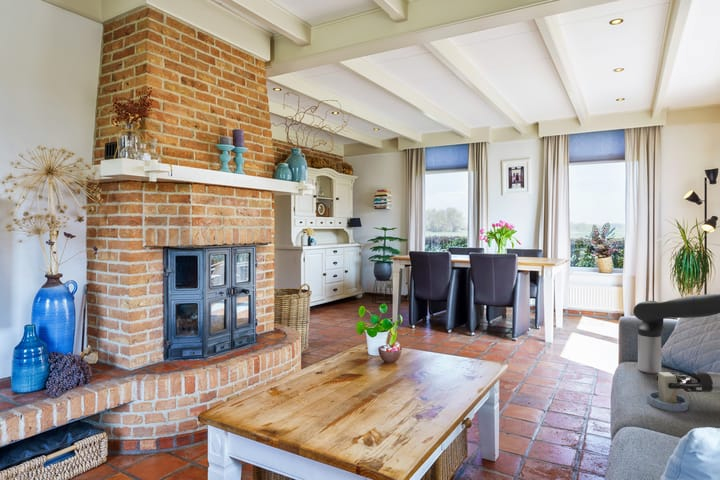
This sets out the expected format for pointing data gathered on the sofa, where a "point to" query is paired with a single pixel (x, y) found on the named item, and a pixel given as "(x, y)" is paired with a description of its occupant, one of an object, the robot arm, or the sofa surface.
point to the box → (666, 387)
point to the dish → (654, 401)
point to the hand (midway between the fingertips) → (662, 381)
